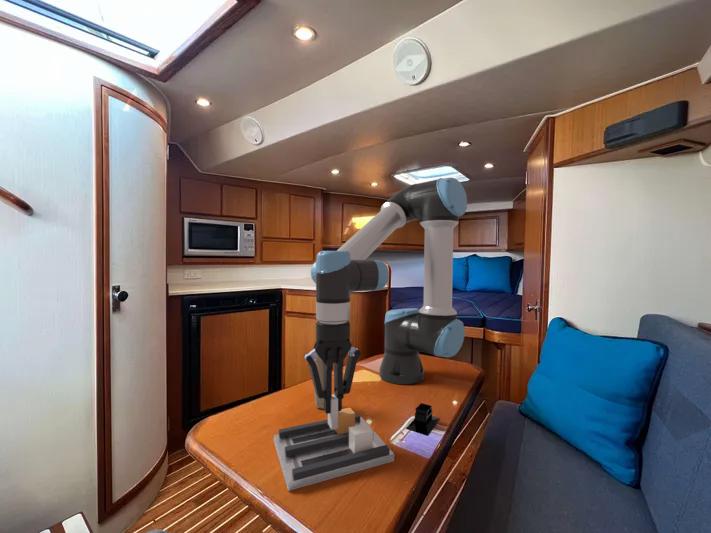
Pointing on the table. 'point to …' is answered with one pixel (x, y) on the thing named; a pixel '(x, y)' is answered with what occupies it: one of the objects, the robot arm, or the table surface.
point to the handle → (320, 401)
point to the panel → (322, 456)
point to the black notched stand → (423, 420)
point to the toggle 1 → (345, 420)
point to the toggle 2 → (360, 438)
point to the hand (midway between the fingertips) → (332, 425)
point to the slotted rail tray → (322, 443)
